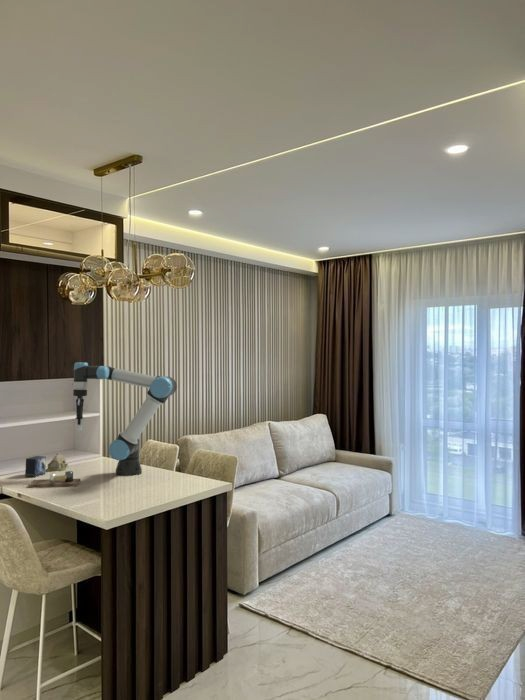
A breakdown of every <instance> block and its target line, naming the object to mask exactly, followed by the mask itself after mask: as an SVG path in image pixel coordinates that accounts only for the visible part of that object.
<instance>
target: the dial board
mask: <svg viewBox="0 0 525 700" xmlns="http://www.w3.org/2000/svg"><path fill="white" fill-rule="evenodd" d="M79 482H81V478H73V481H65V479H63V480H55V482H50V478H48V479H47V478H46V479H32V481H31V482H30V483H29V484H28V487H39V488H66V487H69V486H70V487H71V486H74V487H78V486H79V484H80V483H79ZM28 487H27V488H28ZM71 488H72V487H71Z"/></svg>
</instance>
